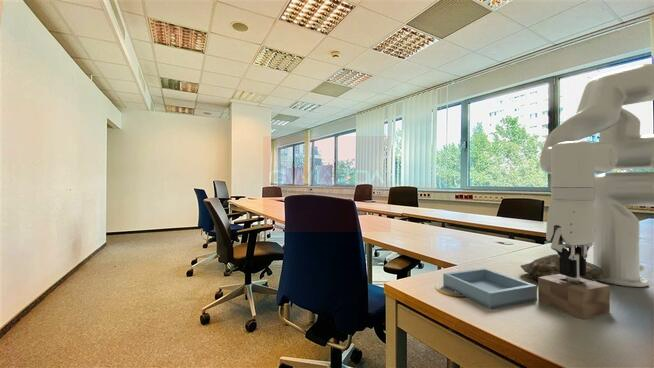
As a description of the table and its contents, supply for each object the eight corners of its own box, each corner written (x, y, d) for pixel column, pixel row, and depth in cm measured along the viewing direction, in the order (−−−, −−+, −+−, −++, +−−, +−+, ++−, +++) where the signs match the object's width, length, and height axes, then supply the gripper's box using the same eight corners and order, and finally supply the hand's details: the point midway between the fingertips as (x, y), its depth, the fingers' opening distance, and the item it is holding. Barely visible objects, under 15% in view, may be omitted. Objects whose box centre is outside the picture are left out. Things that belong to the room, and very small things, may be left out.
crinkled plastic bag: (505, 256, 88) (555, 241, 92) (510, 283, 88) (560, 267, 92) (558, 270, 72) (614, 251, 76) (564, 304, 72) (620, 283, 77)
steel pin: (570, 302, 66) (569, 252, 66) (582, 306, 63) (582, 254, 63) (563, 304, 65) (563, 252, 65) (575, 308, 63) (575, 255, 63)
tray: (484, 279, 82) (484, 268, 82) (537, 299, 68) (536, 285, 68) (443, 286, 78) (443, 273, 78) (490, 308, 63) (490, 293, 63)
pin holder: (563, 297, 70) (563, 273, 70) (609, 312, 61) (609, 285, 61) (538, 302, 67) (538, 277, 67) (582, 319, 58) (582, 290, 58)
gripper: (576, 194, 70) (576, 266, 70) (530, 195, 65) (531, 274, 65) (614, 195, 63) (615, 276, 63) (567, 197, 58) (567, 285, 58)
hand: (572, 274), depth 64 cm, fingers closed on steel pin, 2 cm apart
